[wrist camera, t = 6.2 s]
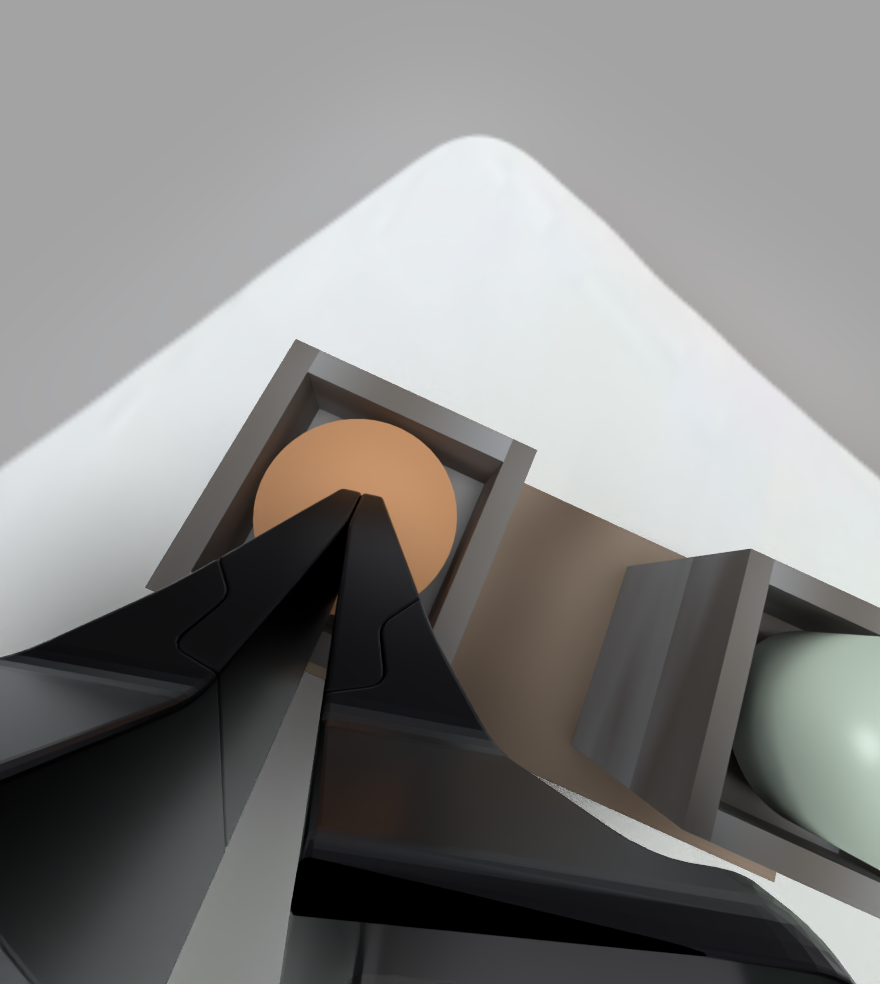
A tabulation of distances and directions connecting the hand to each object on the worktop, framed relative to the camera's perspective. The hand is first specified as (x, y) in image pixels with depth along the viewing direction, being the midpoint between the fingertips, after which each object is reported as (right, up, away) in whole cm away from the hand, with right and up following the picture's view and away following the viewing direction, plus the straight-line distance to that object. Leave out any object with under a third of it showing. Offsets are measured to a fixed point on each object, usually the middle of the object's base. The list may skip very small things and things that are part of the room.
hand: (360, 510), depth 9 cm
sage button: (+10, -5, +1) cm, 11 cm away
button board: (+4, -4, +7) cm, 9 cm away
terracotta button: (0, 0, +2) cm, 2 cm away
